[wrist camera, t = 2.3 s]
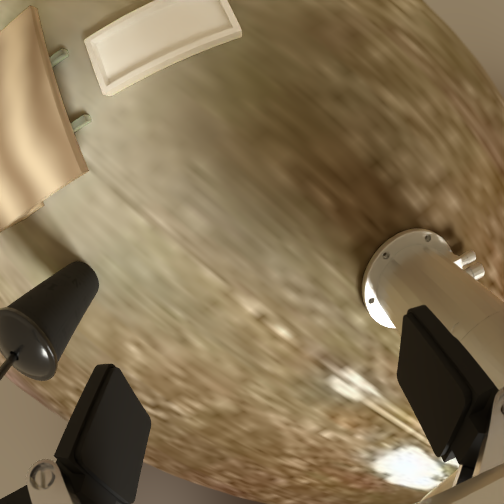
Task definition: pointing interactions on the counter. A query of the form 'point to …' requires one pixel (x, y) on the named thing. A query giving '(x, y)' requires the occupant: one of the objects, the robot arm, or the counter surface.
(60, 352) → the drinking cup
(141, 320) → the counter surface
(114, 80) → the white rectangular tray
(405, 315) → the robot arm
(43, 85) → the shelf
